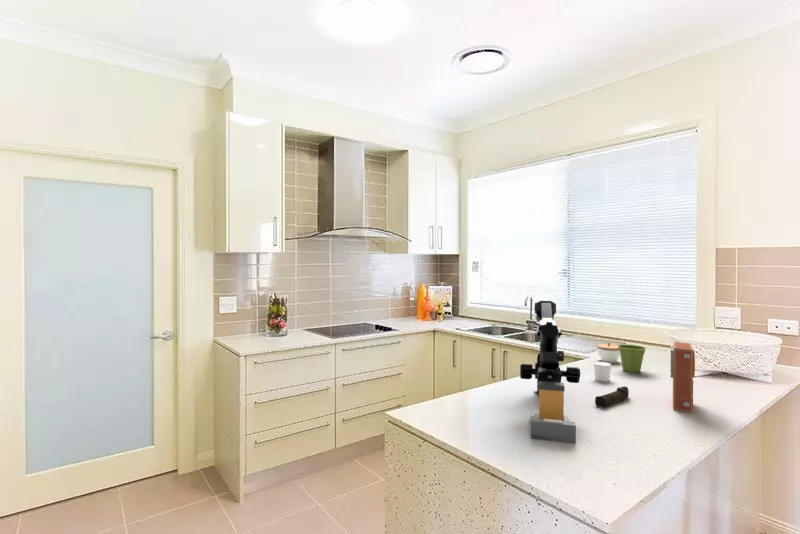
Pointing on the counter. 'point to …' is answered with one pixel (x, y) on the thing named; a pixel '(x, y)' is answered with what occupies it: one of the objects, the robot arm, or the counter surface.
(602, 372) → the white cup
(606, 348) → the lidded jar
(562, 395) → the handle
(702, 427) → the counter surface
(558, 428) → the base
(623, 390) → the hand tool
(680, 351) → the brown case
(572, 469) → the counter surface
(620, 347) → the plant pot
